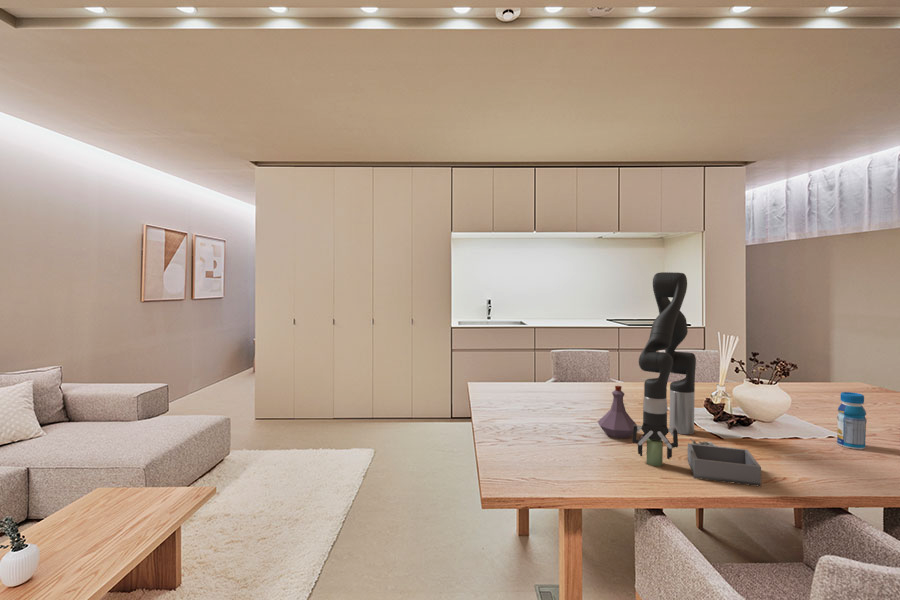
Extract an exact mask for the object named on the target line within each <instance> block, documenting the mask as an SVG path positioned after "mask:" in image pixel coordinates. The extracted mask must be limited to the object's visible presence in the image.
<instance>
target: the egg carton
mask: <svg viewBox="0 0 900 600" xmlns="http://www.w3.org/2000/svg"><path fill="white" fill-rule="evenodd" d="M689 441H691V442H692V443H691V444H699V445H708V446H717V445H716V444H714V443H713V442H712V441H699V442H698V443H697V442H696V440H695V439H692V438H689Z"/></svg>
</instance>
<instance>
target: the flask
mask: <svg viewBox="0 0 900 600" xmlns="http://www.w3.org/2000/svg"><path fill="white" fill-rule="evenodd" d="M611 394H612V395H613V399H612V404H611V407H610V408H609V410H608V411H607V412H606V413H605V414H604V415H602V417H601V418H600V419H599V420H598V421H597V424H598V425H599V427H600V428H601V429H602V431H603V432H604V433H605V435H606V436H607V437H609V438H613V439H621V438H622V439H623V440H625V439H628V438H630V437H632V436H633V425H634V424H636V425H638V424H637V423H636V422H635V421H634V420H633V418H631V416H630V415H629V414H628V412H627V410H626V407H625V403H624V396H625V393H624V391H622V386H621V385H615V386H614V390H613V391H612V392H611Z"/></svg>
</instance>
